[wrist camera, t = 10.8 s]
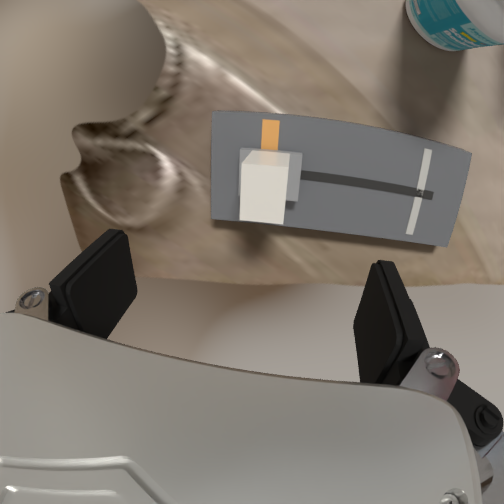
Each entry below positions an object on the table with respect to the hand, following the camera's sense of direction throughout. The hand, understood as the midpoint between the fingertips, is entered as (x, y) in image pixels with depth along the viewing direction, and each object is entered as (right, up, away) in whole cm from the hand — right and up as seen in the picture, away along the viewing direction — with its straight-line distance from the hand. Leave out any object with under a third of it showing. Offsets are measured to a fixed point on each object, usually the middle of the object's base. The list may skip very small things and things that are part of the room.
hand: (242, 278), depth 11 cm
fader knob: (+2, +8, +14) cm, 16 cm away
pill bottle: (+18, +23, +6) cm, 30 cm away
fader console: (+9, +8, +15) cm, 19 cm away
